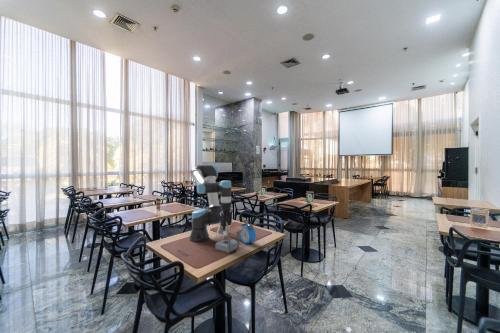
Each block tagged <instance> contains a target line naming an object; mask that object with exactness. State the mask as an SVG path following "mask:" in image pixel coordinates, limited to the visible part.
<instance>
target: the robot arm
mask: <svg viewBox="0 0 500 333" xmlns="http://www.w3.org/2000/svg"><path fill="white" fill-rule="evenodd" d="M189 175H190V177H191V178H192V179H193V180H194V182H195V184H196V192H197V194H203V195H204V194H207V200H208V207H207V209H206V208H198V209H195V210H193V211H192V212H191V231H190V235H189V240H190V241H191V242H196V243H197V242H198V243H200V242H205V241H207V240H209V239H210V234H209V231H208V228H207V226H209V225H216V224H217V225H218V224H219V225H220V227H222V231H223V232H222V235H223V236H224V235H227V226H226V223H228V230H231V229H230V227H231V224H232V222H233V221H232V220H233V212H234V210H233V209H231V208H232V181H231V180H221V181H219V182H216V180H217V178H218V176H219V170H218V167H217V166H216V165H213V164H199V165H195V166H193V167H192V168H191V170H190V173H189ZM218 193H220V201H219V195H218Z"/></svg>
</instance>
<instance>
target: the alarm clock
mask: <svg viewBox="0 0 500 333" xmlns="http://www.w3.org/2000/svg"><path fill="white" fill-rule="evenodd" d="M241 227H243V229H242V230H240V231H239V239H240V240H241V242H242V243H244V244H245V245H246V244H247V245H249V244H251V243H253V242H255V240H256V238H257V237H256V236H257V233H256V230H255V228H254V225H253V224H251V223H248V222H245V221H244V222H242V224H241Z"/></svg>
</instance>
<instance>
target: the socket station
mask: <svg viewBox="0 0 500 333" xmlns="http://www.w3.org/2000/svg"><path fill="white" fill-rule="evenodd" d="M242 229H243V227H242V226H236V227H233V228H231V229H229V230H228V240H224V239H221V240H219V241H218V242H216V243H215V246H214V248H215V250H216V251H217V250H218V251H220V252H223V253H228V254H231V252H233V251H234V250H236V249H238V248H240V235H239V231H240V230H242ZM235 233H236V240H234V239H231V234H235Z"/></svg>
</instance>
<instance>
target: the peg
mask: <svg viewBox="0 0 500 333" xmlns="http://www.w3.org/2000/svg"><path fill="white" fill-rule="evenodd" d="M226 226H227V235H223V237H224V239H223V240H228V223H226Z"/></svg>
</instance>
